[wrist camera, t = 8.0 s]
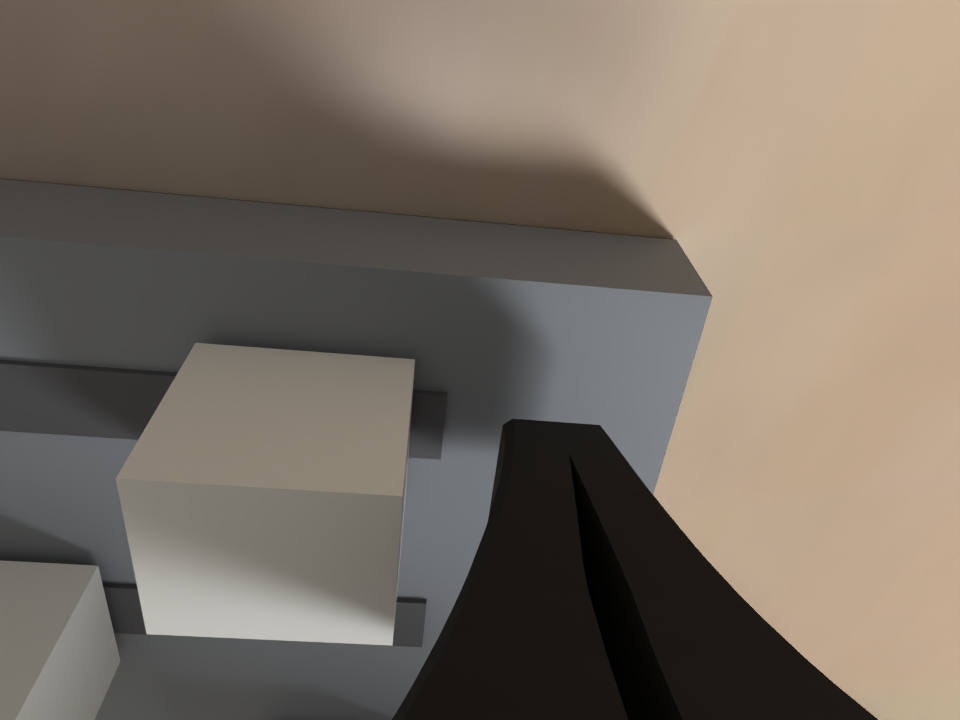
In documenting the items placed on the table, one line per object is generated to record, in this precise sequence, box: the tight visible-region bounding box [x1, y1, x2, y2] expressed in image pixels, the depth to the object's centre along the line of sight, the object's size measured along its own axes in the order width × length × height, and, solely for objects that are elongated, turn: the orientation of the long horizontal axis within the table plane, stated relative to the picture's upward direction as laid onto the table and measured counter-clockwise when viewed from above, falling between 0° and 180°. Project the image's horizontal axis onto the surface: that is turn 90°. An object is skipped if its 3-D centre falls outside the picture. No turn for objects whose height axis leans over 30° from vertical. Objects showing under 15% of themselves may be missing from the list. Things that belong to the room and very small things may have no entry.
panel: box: [0, 179, 712, 720], centre depth 14 cm, size 16×14×2 cm
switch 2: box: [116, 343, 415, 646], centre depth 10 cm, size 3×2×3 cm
